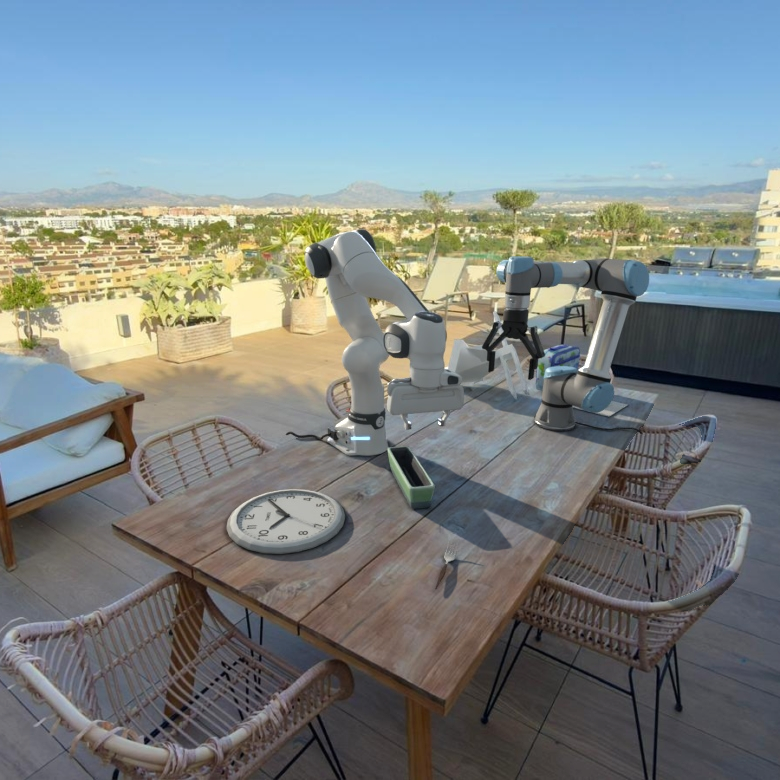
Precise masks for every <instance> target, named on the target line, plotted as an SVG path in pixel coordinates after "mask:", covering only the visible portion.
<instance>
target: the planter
mask: <svg viewBox="0 0 780 780" xmlns="http://www.w3.org/2000/svg"><path fill="white" fill-rule="evenodd" d="M386 451H387V456H388V462H389V468H390V471H391V474H392V475H393V477H394V479H395V481H396V483H397V485H398V486H399V488H400V490H401V492H402V494H403V496H404V498H405V501H406V502H407V504H408V505H409V507H410V508H411V509H412V510H418V509H428V508H430V507H431V504H432V500H433V496H434V493H435V488H436V485H435V483H434V482H433V481H432V479H431V477H430V476H429V474H428V473H427V471H426V470H425V468H424V466H423V465H422V464H421V462H420V460H419V458H417V456H416V455H415V453H414V451H413V450H412V449H411V448H410V446H409V445H408V446H407V445H406V446H403V445H402V446H391V447H388V449H387V450H386Z"/></svg>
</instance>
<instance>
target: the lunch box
mask: <svg viewBox="0 0 780 780" xmlns="http://www.w3.org/2000/svg"><path fill="white" fill-rule="evenodd" d="M543 350H544V353H545V357H543V358H539V359H538V367H537V369H536V374H535V389H536V390H537V391H541V392H542V390H543V380H544V379H543V378H544V374H545V370H546V369H547V368H549V367H555V366H569V367H575V368H576V369H577V371H578V369H579V368H580V357H581V351H580V350H581V349H580V347H579V346H572V345H566V344H559V345H555V346H552V347H549V348H547V349H543Z"/></svg>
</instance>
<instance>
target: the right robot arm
mask: <svg viewBox="0 0 780 780" xmlns="http://www.w3.org/2000/svg"><path fill="white" fill-rule="evenodd" d="M496 277H497V279H498V280H499V281H500V282H502V283H505V291H504V304H503V306H504V307H505V308H504V309H503V313H502V314H503V315H502V322H501V323H500V322H499V321H497V322H496V321H494V322H492V327H491V330H490V331H489V333H488V335H487V337H486V338H485V340H484V342H483V344H482V345H483V346H482V349H485V350H487V361H489V368H488V372H490V373H492V372H494V371H495V369H494V364H495V352H496V351H493V350H495V349H496V348H497V347H498V346H499V345H500V344H502V341H503V340H504V339H505V338H506V339H514V340H519V341H520V342H521V343H522V344H523V346H524V347H525V349H526V350H527V352H528V353H529V355H530V357H531V358H530V359H529V364H528V376H527V380H529V381H531V380H533V379H534V378H535V370H537V367H538V359H539V358H543V357H545V353H544V350H545V349H544V347H543V345H542V342H541V339H540V336H539V331H538V325H534V326H533V325H532V326H529V325H528V322H529V314H530V313H529V312H530V311H529V308H530V303H531V302H530V301H531V293H532V292H531V291H532V289H539V288H540V289H541V288H547V289H550V288H552V287H557V286H558V285H571V286H572V287H575V288H584V289H589V290H594V291H597V292H600V297H601V299H602V300H603V302H602V305H601V307H600V311H599V315H598V319H597V321H596V324H595V328H594V332H593V334H592V337H591V341H590V344H589V347H588V351H587V355H586V358H585V361H584V364H583V366H582V367H579V368H578V371H577V369H576V368H575V367H569V366H555V367H549V368H547V369H546V370H545V374H544V378H543V379H544V380H543V390H542V391H541V402H540V405H539V407H538V410H537V411H536V413H535V415H534V417H533V419H534V424H535V425H536V426H537V427H539V428H542V429H544V430H549V431H556V432H567V431H572V430H574V429H575V428H576V425H580V426H584V427H587V428H592V429H595V430H600V431H601V430H602V431H616V430H632V431H636V432H638V433H639V434H640V435H643V434H644V433H643V432H642V431H641V430H640V429H639V428H636V427H621V426H618V427H612V428H607V427H599V426H594V425H591V424H586V423H583V422H578V421H576V418H575V417H576V416H575V413H574V407H579V408H581V409H583V410H582V411H584V410H585V411H584V412H588V411H590V412H589V413H592V412H594V413H593V414H596V413H597V412H601V411H603V410H604V409H605V408H607V407H608V406H609V404H610V403H611V401H613V399H614V396H615V387H614V385H613V384H612V383H611V381H612V376H611V375H610V369H611V366H612V362H613V360H614V356H615V353H616V350H617V346H618V343H619V340H620V337H621V333H622V331H623V327H624V324H625V321H626V317H627V314H628V310H629V308H630V306H631V305H633V304H635V303H636V301H637V298H638V297H641V296H643V295H644V294H645V293H646V292H647V290H648V288H649V285H650V273H649V269H648V267H647V266H646V264H645V263H644V262H642V261H639V260H633V259H622V258H621V259H618V258H605V257H603V258H594V259H577V260H574V261H573V262H569V261H568V262H567V261H566V262H565V261H543V260H542V261H541V260H534V258H533V257H532V256H510V257H509V258H508V259H504V260H502V261H500V262H499V263H498V264H497V267H496ZM501 327H502V329H503V331H504V332H503V333H502V334H501V335H499V336H498V337H497V338H496V339H495V337H496V335H497V333H498V332H499V331H498V329H500V328H501ZM527 332H528V333H529V334H530V337H531V340H532V342H531V340H530V339H529V336H528V334H527ZM494 339H495V340H494ZM493 340H494V341H493ZM532 343H533V344H532ZM489 345H490V346H489Z"/></svg>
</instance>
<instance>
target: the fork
mask: <svg viewBox="0 0 780 780" xmlns="http://www.w3.org/2000/svg"><path fill="white" fill-rule="evenodd" d="M449 546H450V547H449ZM452 546H453V547H452ZM455 546H456V543H454V545H453V543H451V544H450V542H448V544H447V547H446V550H445V552H444V556H443V557H444V558H443V559H444V560H445V564H444V565H443V567H442V568H441V569H440V571H439V573H438V578H437V581H436V584H435V588H434V589H435V590H437V589H438V587H439V585H440V584H441V582H442V580H443V579H444V577H445V575H446V572H447V568H448V564H449V563H450V562H453V561H455V560H456V557H457V552H458V549H459V544H457V546H456V548H455Z"/></svg>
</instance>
